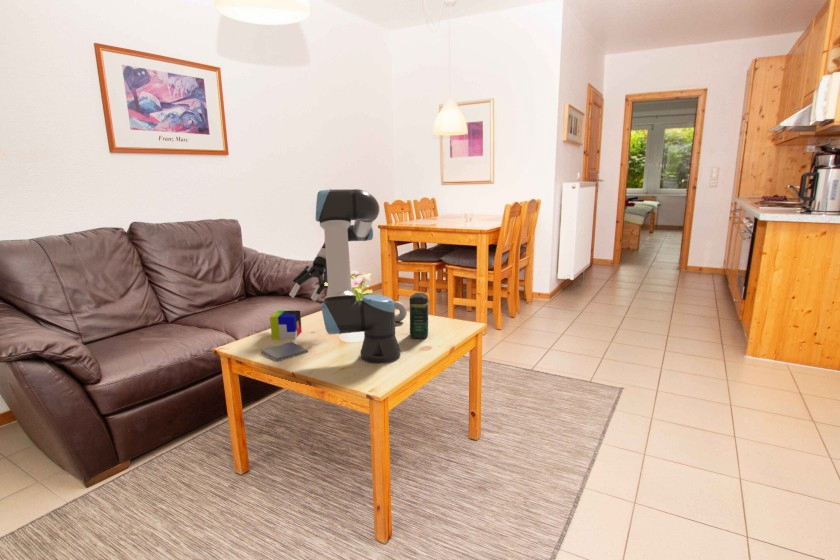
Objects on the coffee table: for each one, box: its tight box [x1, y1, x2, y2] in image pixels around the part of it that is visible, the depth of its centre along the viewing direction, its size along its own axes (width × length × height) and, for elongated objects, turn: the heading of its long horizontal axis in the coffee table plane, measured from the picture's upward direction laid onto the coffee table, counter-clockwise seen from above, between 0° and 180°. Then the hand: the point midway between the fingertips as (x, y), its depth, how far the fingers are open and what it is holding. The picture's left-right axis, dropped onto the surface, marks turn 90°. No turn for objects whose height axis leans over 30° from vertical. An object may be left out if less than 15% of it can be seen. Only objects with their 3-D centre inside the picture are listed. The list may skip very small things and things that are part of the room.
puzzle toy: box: [269, 310, 303, 340], centre depth 197 cm, size 10×10×10 cm
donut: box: [393, 300, 408, 322], centre depth 216 cm, size 10×4×10 cm, turn 71°
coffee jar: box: [409, 292, 429, 339], centre depth 194 cm, size 10×8×19 cm
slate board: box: [260, 341, 309, 362], centre depth 178 cm, size 13×13×1 cm
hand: (301, 298), depth 204 cm, fingers open, 13 cm apart
